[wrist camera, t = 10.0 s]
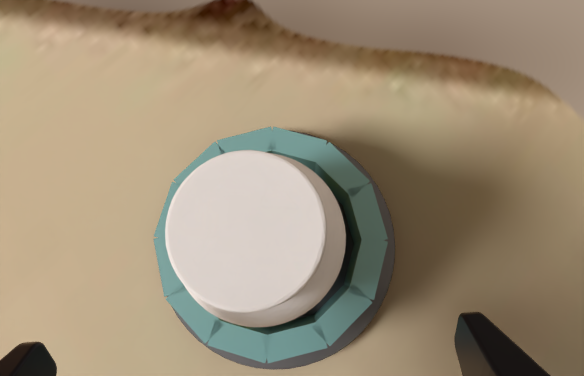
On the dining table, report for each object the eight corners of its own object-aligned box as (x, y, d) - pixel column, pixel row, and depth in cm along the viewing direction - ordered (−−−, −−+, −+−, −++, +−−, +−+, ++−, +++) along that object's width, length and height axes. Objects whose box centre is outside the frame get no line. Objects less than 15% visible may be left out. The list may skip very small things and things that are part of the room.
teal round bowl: (439, 246, 20) (469, 241, 17) (273, 419, 19) (264, 455, 15) (279, 92, 22) (274, 57, 18) (117, 242, 21) (76, 236, 17)
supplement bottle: (334, 192, 20) (357, 121, 11) (334, 310, 19) (358, 348, 10) (221, 190, 20) (144, 119, 11) (214, 307, 19) (124, 341, 10)
